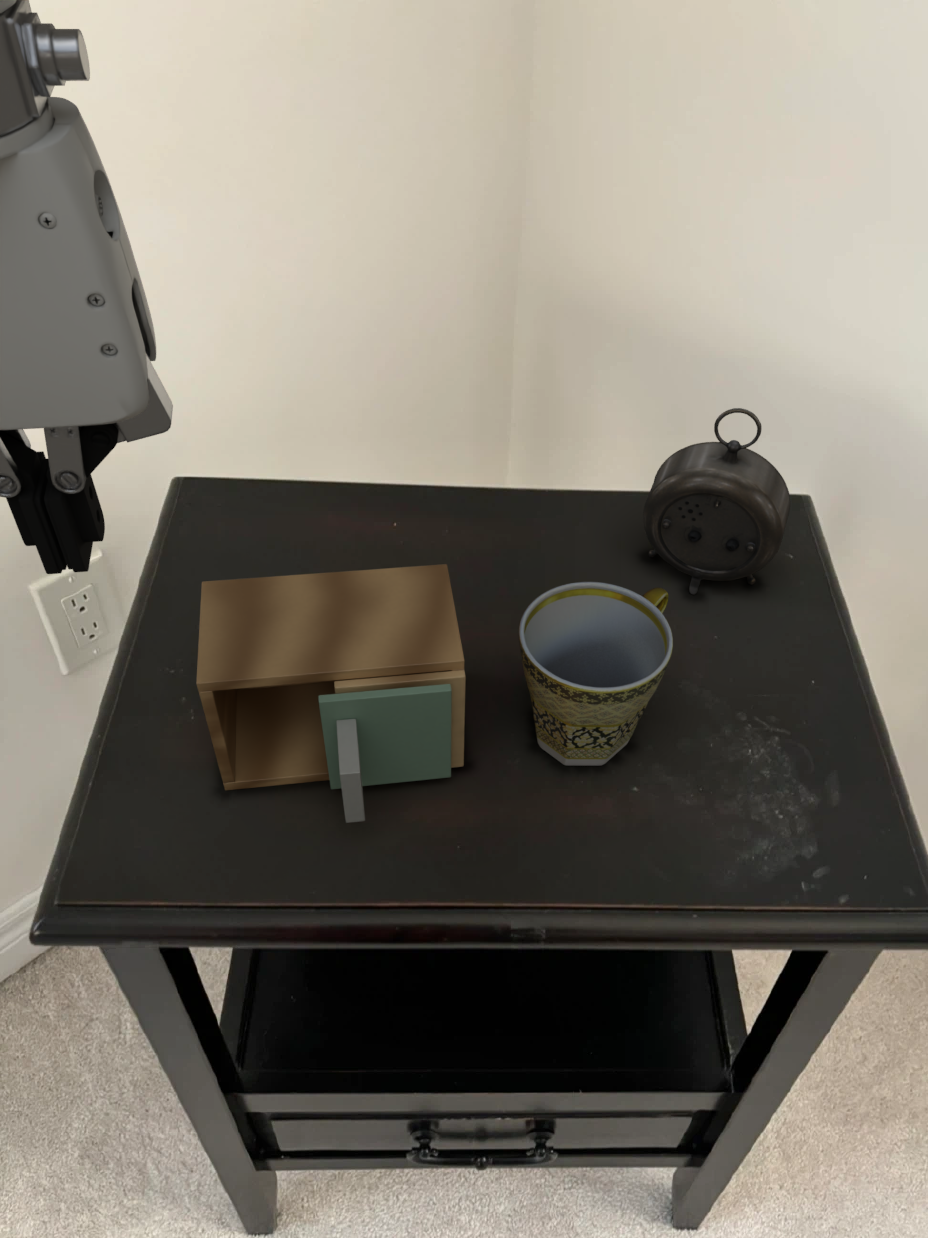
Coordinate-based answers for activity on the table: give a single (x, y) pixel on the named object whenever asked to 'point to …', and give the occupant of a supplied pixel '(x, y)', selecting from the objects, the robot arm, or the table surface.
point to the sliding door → (385, 739)
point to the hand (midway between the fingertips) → (72, 550)
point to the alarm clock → (717, 509)
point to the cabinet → (317, 661)
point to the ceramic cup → (592, 666)
